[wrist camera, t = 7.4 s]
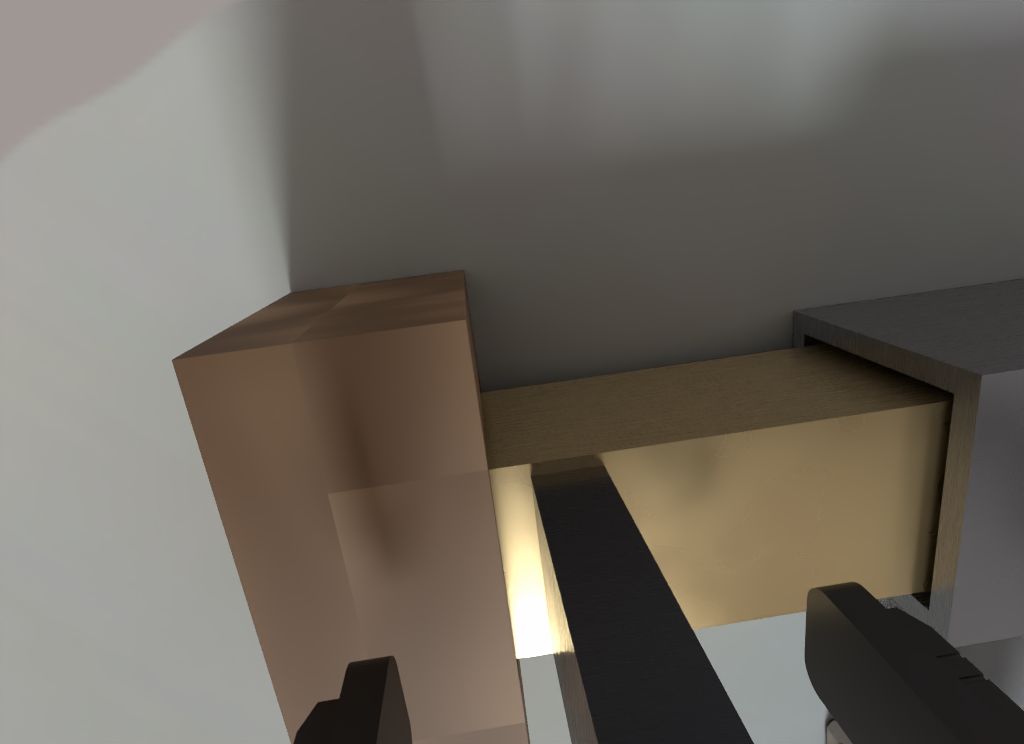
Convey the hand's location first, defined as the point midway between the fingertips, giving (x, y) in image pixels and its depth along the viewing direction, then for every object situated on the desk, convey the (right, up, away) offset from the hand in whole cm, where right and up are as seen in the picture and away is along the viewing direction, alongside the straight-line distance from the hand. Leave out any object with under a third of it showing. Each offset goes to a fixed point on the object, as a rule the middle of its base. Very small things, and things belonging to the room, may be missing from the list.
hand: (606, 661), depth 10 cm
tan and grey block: (+3, +3, +8) cm, 9 cm away
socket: (-4, +2, +8) cm, 10 cm away
